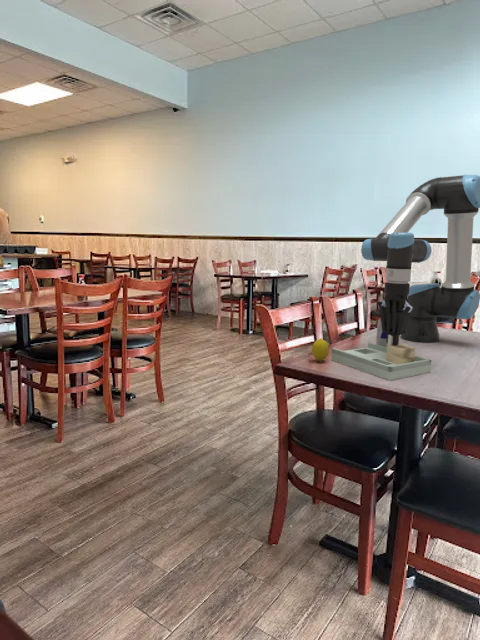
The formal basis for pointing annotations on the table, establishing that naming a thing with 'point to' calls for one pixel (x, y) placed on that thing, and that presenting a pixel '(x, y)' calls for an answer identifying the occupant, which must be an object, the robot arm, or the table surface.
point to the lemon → (320, 349)
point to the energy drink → (381, 335)
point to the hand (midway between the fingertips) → (391, 354)
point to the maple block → (400, 354)
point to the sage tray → (380, 362)
